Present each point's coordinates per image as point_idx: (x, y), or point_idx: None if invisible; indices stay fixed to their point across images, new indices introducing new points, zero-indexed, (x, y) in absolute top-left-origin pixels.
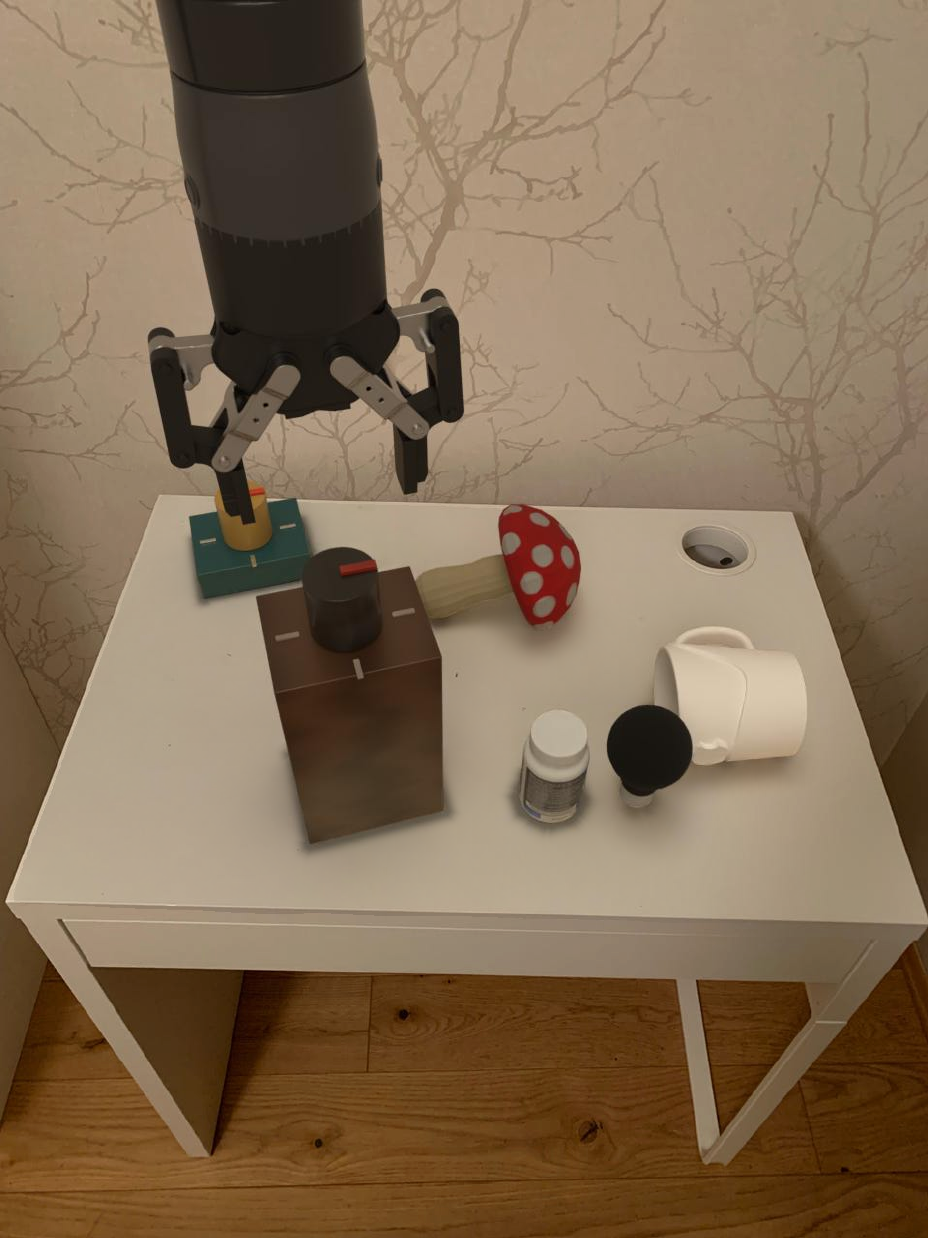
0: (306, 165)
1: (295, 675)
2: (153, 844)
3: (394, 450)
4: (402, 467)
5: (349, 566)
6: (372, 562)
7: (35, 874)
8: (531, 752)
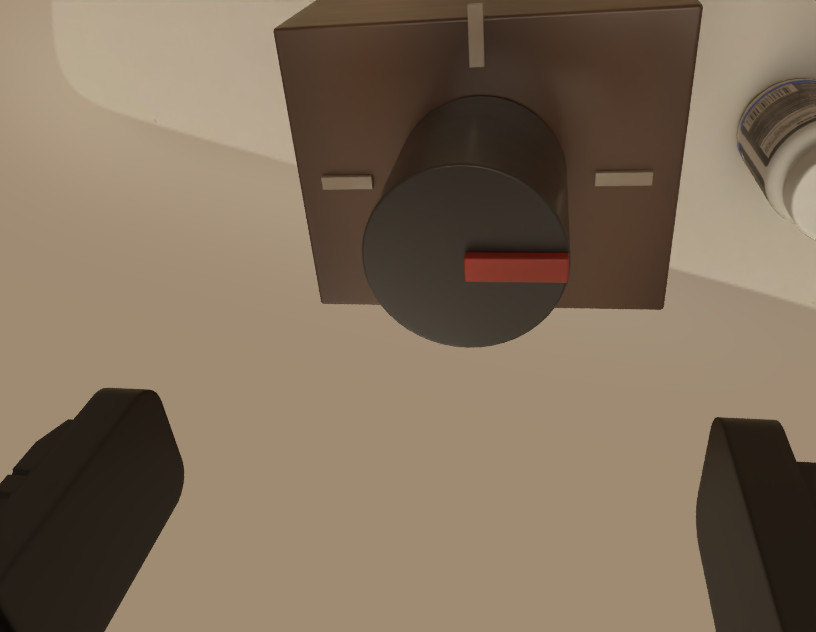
0: None
1: (360, 277)
2: (203, 64)
3: (741, 499)
4: (720, 625)
5: (492, 266)
6: (558, 270)
7: (64, 73)
8: (783, 179)
